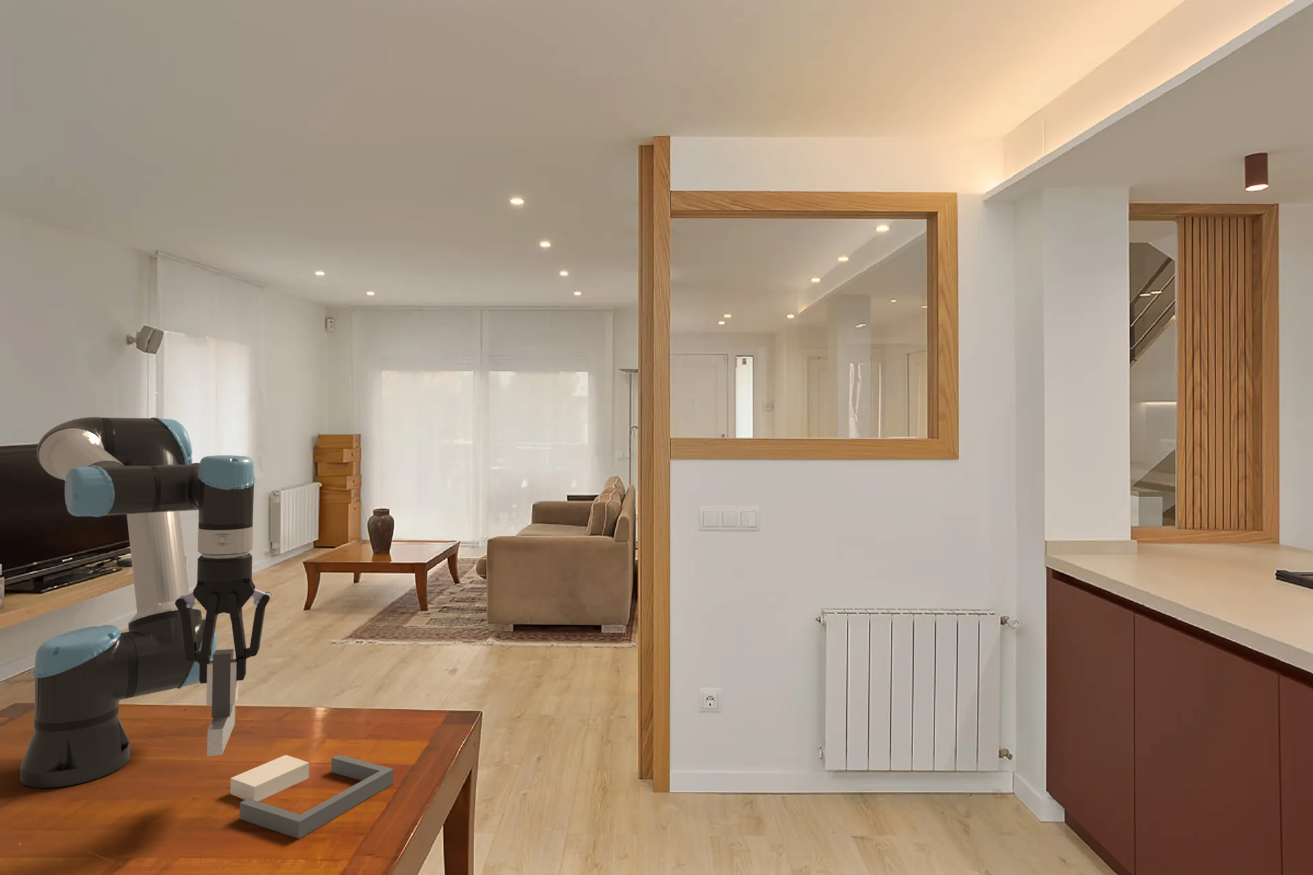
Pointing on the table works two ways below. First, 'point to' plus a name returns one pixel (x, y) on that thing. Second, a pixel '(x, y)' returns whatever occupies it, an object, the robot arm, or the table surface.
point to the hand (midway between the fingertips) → (222, 701)
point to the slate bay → (301, 825)
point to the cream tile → (269, 778)
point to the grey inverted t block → (221, 703)
